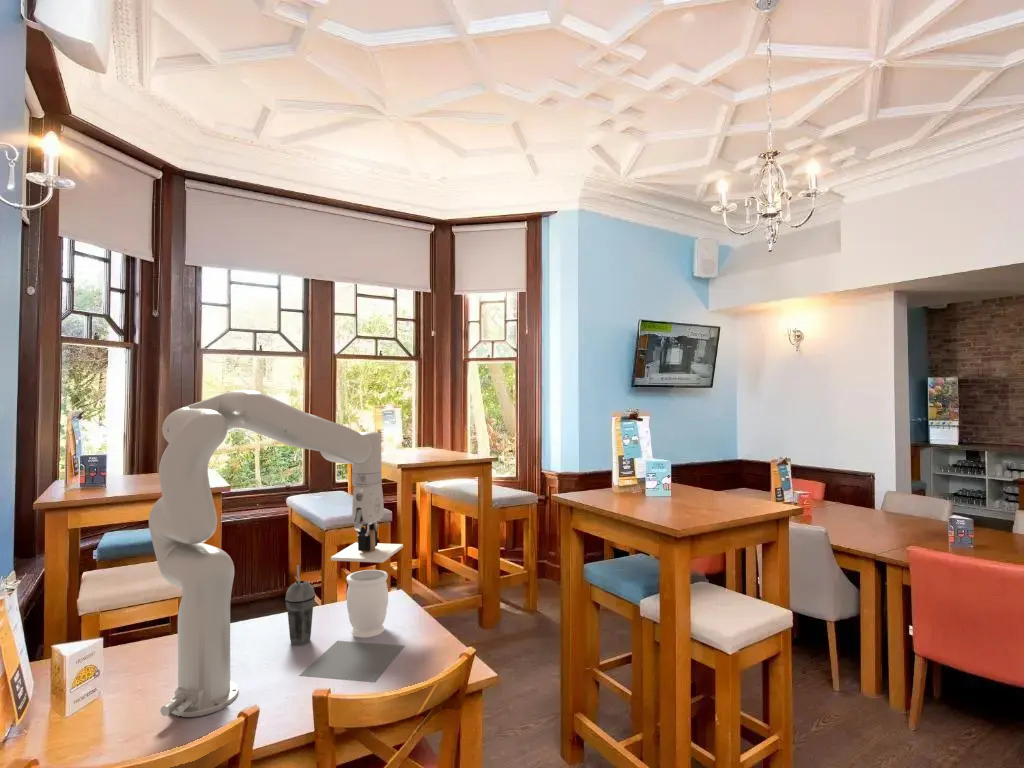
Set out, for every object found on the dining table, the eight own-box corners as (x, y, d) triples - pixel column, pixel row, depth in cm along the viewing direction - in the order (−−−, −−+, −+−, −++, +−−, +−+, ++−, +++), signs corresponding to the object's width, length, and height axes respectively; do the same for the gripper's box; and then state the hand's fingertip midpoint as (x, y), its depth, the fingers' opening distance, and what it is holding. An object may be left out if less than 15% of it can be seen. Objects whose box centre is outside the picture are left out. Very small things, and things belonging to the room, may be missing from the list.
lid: (382, 562, 144) (382, 539, 144) (330, 560, 146) (330, 537, 146) (403, 547, 157) (402, 525, 157) (355, 545, 160) (355, 524, 160)
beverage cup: (320, 637, 148) (320, 560, 149) (307, 650, 141) (307, 568, 141) (293, 636, 149) (293, 559, 149) (279, 649, 142) (279, 568, 142)
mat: (375, 684, 125) (375, 682, 125) (298, 677, 128) (298, 675, 128) (405, 647, 142) (405, 645, 142) (337, 642, 145) (337, 640, 145)
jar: (342, 641, 146) (342, 582, 146) (352, 624, 156) (351, 569, 157) (384, 640, 146) (384, 581, 147) (391, 624, 157) (391, 568, 157)
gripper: (367, 484, 143) (367, 558, 143) (392, 474, 159) (393, 540, 159) (338, 483, 144) (339, 557, 144) (367, 473, 161) (367, 539, 161)
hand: (367, 547), depth 152 cm, fingers closed on lid, 3 cm apart
